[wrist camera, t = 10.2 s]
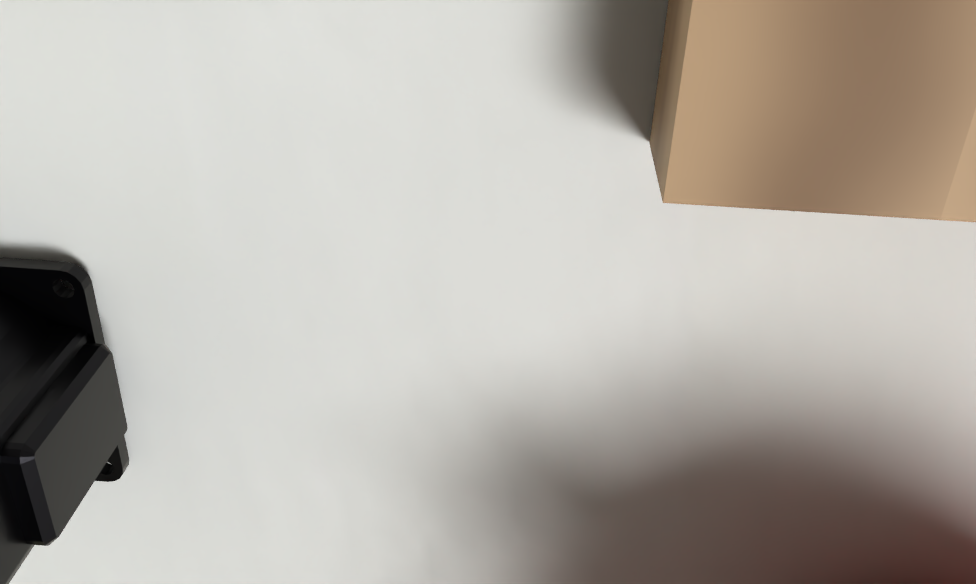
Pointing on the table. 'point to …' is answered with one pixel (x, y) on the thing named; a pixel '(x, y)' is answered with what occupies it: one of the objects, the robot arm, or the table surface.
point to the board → (819, 106)
